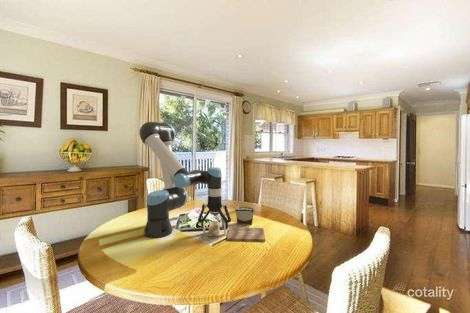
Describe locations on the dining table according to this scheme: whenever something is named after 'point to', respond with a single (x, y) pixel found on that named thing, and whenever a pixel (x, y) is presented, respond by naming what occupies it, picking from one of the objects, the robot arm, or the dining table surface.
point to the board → (246, 234)
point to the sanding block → (214, 229)
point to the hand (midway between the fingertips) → (214, 233)
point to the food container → (244, 215)
